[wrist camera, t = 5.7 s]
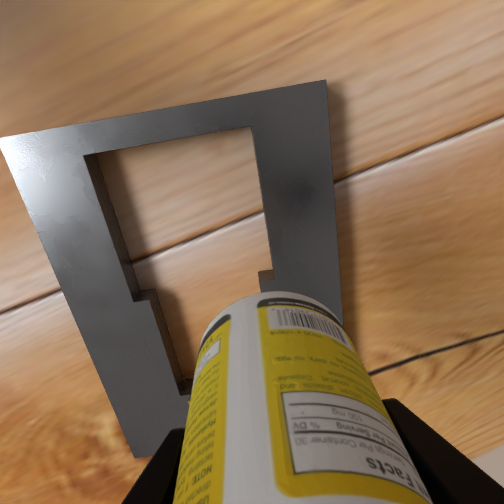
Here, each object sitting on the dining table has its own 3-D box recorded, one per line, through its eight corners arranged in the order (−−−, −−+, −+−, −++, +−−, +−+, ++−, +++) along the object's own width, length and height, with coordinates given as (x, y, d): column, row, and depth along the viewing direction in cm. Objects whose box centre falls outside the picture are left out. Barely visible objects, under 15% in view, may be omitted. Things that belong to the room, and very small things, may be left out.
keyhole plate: (319, 83, 17) (327, 78, 16) (344, 410, 26) (351, 429, 25) (15, 137, 18) (-7, 138, 16) (140, 440, 27) (133, 460, 25)
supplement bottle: (234, 421, 13) (218, 1090, 4) (174, 316, 11) (-116, 1169, 2) (363, 381, 13) (680, 1066, 3) (324, 263, 11) (827, 1147, 1)
